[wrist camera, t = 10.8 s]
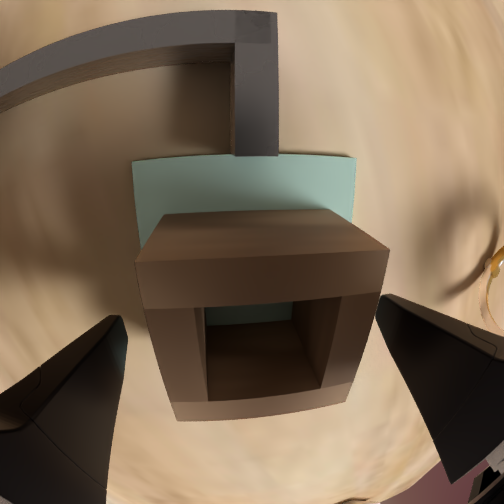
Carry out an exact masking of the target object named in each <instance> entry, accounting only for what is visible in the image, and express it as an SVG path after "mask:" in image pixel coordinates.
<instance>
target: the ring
mask: <svg viewBox="0 0 504 504" xmlns="http://www.w3.org/2000/svg"><path fill="white" fill-rule="evenodd" d="M503 263H504V246H503V247H502V248H501V249H499V250H498V251H497V252H496V254H495V255H494V256H493V257H492V258H489V259H487V261H486V262H485V265H484V267H485V270H484V272H483V275H482V277H481V281H480V285H479V295H478V297H479V307H480V311H481V315H482V318H483V321H484V323H485V326H486V328H487V329H488V331H489V332H491V333H494V334H497V335H500V336H503V337H504V330H503V329H501V328H500V327H499V326H498V325H497V324H496V323H495V321H494V320H493V318H492V316H491V314H490V311H489V306H488V293H489V288H490V284H491V281H492V279H493V278H496V277H497V276H498V274H499V272H500V268H499V267H500V266H501V265H502V264H503Z"/></svg>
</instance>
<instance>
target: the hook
mask: <svg viewBox="0 0 504 504" xmlns="http://www.w3.org/2000/svg"><path fill="white" fill-rule="evenodd" d="M204 62H230V136H231V155H233V156H235V157H247V156H276V157H278V153H279V81H278V28H277V13H275V12H264V11H247V10H207V11H190V12H179V13H170V14H162V15H155V16H149V17H143V18H137V19H132V20H128V21H123V22H119V23H115V24H111V25H107V26H103V27H99V28H96V29H92V30H89V31H86V32H83V33H80V34H77V35H74V36H71V37H68V38H65V39H63V40H60V41H58V42H55V43H53V44H50V45H48V46H45V47H43V48H41V49H39V50H36V51H34V52H32V53H30V54H28V55H26V56H24V57H22V58H20V59H18V60H16V61H14V62H12V63H10V64H9V65H7V66H5V67H3V68H1V69H0V113H1V112H3V111H6V110H8V109H10V108H12V107H14V106H16V105H19V104H21V103H23V102H26V101H28V100H31V99H33V98H36V97H38V96H41V95H43V94H46V93H49V92H52V91H55V90H58V89H61V88H64V87H67V86H70V85H73V84H77V83H80V82H84V81H87V80H91V79H95V78H99V77H103V76H108V75H112V74H117V73H122V72H127V71H133V70H138V69H145V68H151V67H159V66H167V65H177V64H188V63H204Z"/></svg>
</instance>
